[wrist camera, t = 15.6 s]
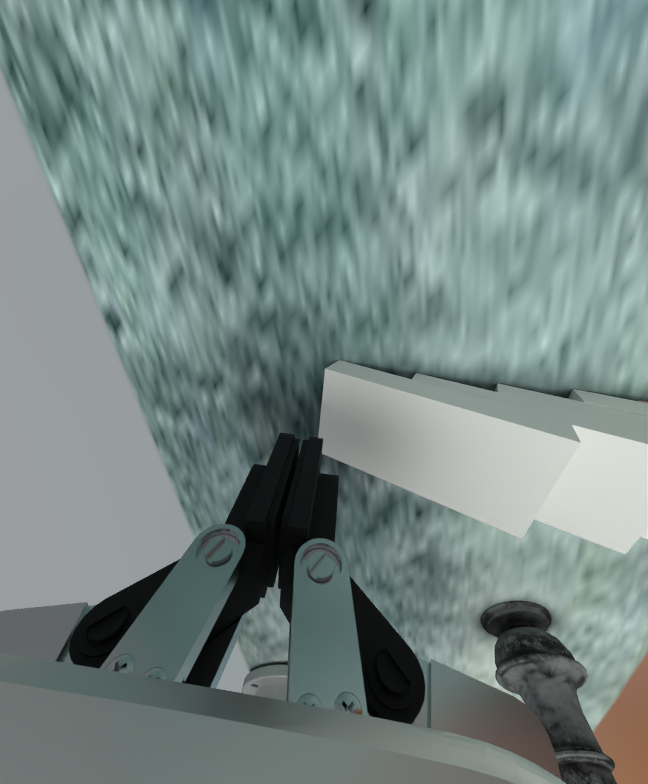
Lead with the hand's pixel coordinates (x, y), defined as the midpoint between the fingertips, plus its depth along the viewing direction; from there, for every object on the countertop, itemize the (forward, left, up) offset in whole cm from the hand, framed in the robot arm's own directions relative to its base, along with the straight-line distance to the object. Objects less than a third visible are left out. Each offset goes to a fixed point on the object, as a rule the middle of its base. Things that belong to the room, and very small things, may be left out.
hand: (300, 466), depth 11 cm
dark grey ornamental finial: (-18, -18, -6) cm, 26 cm away
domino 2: (0, -5, -5) cm, 7 cm away
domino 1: (0, -1, -5) cm, 5 cm away
